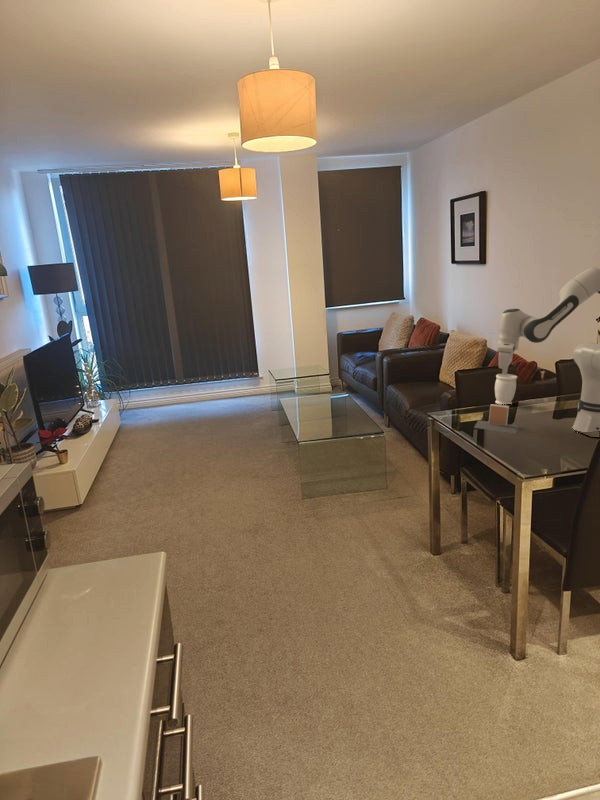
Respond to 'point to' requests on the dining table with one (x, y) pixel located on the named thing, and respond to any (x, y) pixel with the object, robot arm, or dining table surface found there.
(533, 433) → the dining table surface
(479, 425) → the mat
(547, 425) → the dining table surface
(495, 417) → the tile
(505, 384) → the jar
